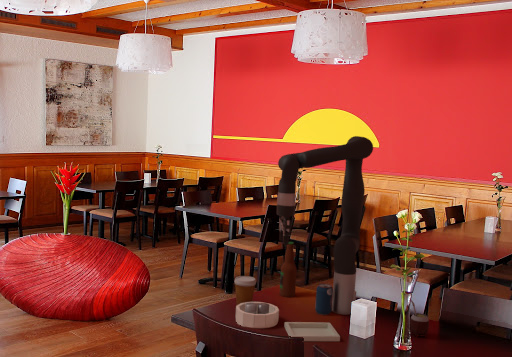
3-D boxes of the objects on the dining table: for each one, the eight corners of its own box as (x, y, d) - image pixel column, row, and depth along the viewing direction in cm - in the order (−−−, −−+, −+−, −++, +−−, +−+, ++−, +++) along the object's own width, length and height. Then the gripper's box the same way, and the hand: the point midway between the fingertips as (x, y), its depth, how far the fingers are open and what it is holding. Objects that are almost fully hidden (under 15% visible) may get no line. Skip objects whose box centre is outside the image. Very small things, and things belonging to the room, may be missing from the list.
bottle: (287, 292, 272) (290, 240, 269) (298, 296, 266) (301, 243, 264) (276, 294, 267) (279, 241, 265) (286, 298, 261) (290, 244, 259)
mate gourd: (430, 335, 223) (433, 297, 221) (423, 340, 216) (426, 301, 215) (411, 330, 227) (414, 293, 226) (404, 335, 220) (407, 297, 219)
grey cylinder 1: (255, 317, 230) (256, 302, 229) (256, 321, 225) (257, 306, 225) (244, 317, 229) (244, 302, 229) (245, 321, 225) (246, 306, 224)
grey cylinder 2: (268, 317, 230) (269, 303, 230) (268, 321, 225) (269, 306, 225) (256, 317, 230) (257, 302, 229) (256, 320, 225) (257, 306, 225)
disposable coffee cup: (254, 310, 242) (256, 282, 241) (232, 308, 242) (233, 280, 241) (255, 303, 252) (256, 276, 251) (233, 302, 252) (235, 275, 251)
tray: (329, 328, 225) (329, 322, 224) (339, 342, 210) (340, 336, 210) (284, 327, 222) (284, 322, 222) (291, 342, 208) (291, 336, 207)
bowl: (274, 315, 237) (274, 302, 236) (280, 329, 220) (281, 315, 220) (234, 314, 235) (234, 301, 234) (237, 328, 218) (238, 314, 218)
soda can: (334, 314, 241) (336, 287, 240) (319, 316, 239) (321, 287, 238) (326, 309, 248) (328, 282, 247) (312, 310, 245) (313, 283, 244)
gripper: (298, 206, 228) (296, 246, 230) (291, 201, 242) (289, 239, 244) (280, 205, 227) (277, 246, 229) (274, 201, 241) (272, 239, 243)
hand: (283, 242), depth 236 cm, fingers open, 8 cm apart
